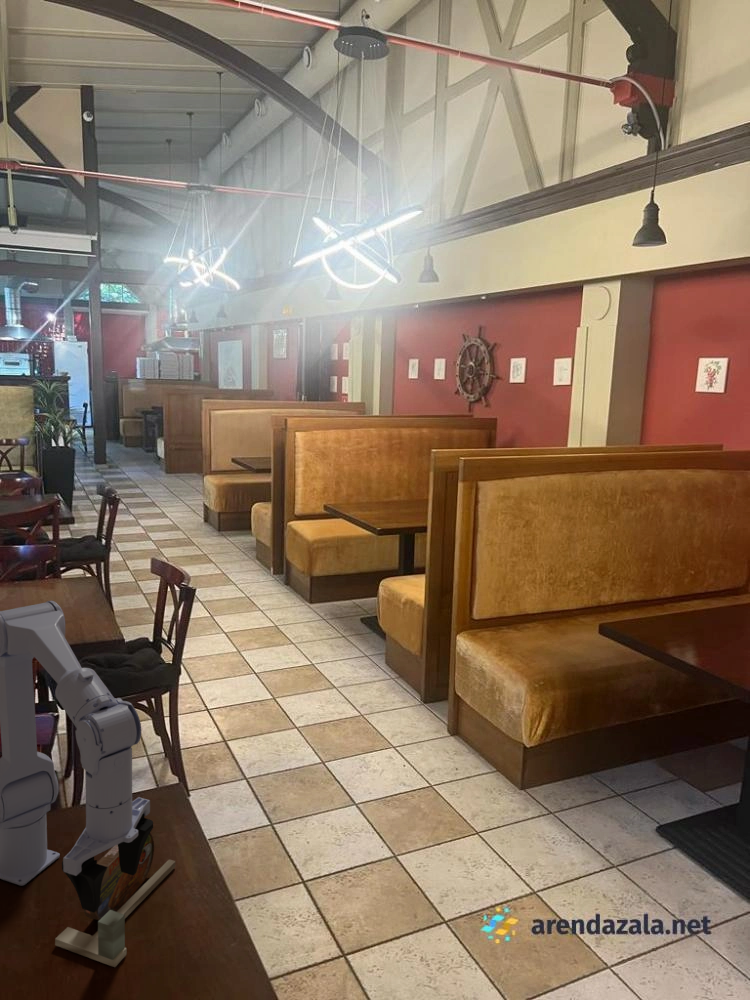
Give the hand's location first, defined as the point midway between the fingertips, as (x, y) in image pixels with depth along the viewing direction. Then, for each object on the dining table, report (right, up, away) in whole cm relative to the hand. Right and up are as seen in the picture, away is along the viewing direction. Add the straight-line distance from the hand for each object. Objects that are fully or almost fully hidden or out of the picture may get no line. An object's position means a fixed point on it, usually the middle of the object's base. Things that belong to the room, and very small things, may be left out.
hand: (110, 889), depth 96 cm
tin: (-3, -9, +13) cm, 16 cm away
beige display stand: (-1, -9, +11) cm, 14 cm away
